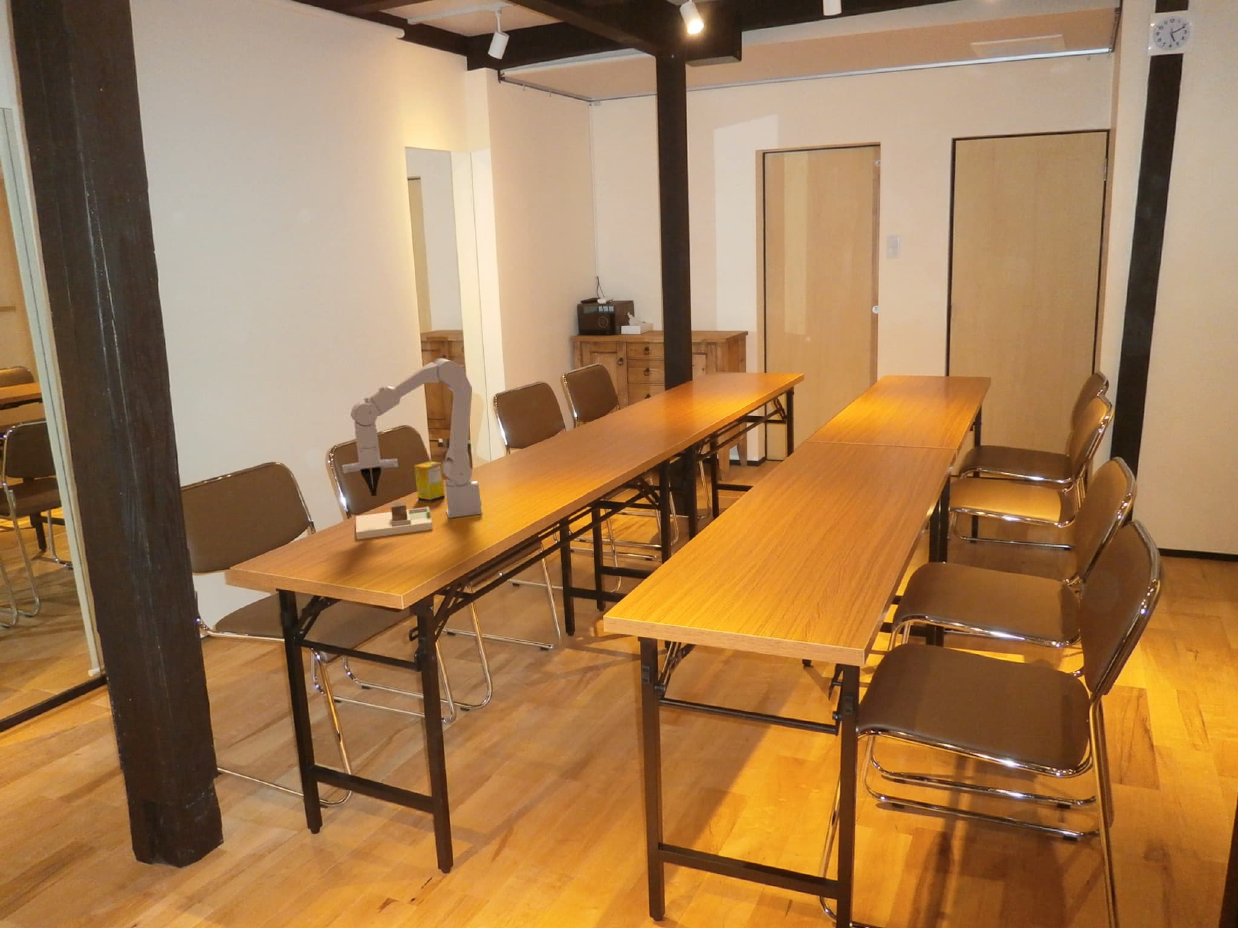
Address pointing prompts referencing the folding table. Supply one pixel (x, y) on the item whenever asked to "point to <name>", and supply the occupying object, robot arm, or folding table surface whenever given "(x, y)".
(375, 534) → the deck
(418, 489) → the supplement box
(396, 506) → the block
